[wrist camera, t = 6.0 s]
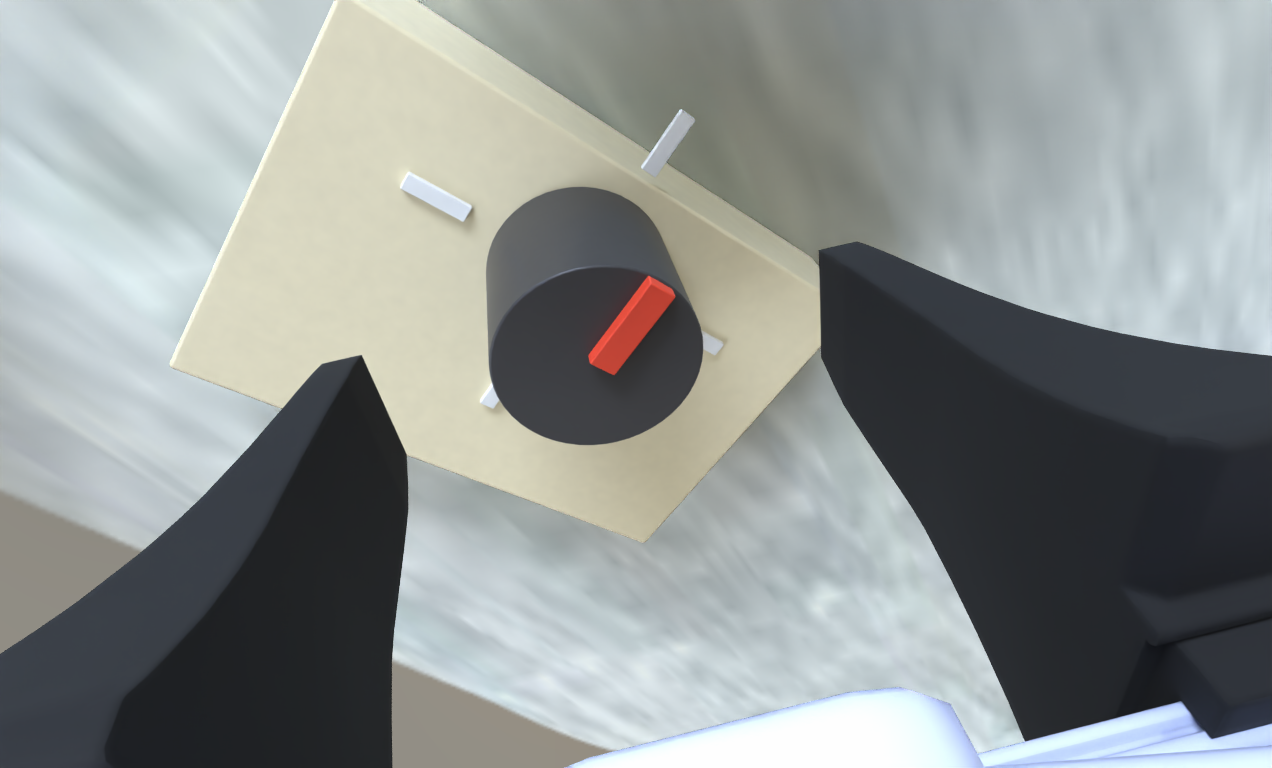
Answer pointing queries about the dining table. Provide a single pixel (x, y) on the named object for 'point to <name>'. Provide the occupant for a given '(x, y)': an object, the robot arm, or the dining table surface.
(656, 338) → the knob
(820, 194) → the dining table surface
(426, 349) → the panel
